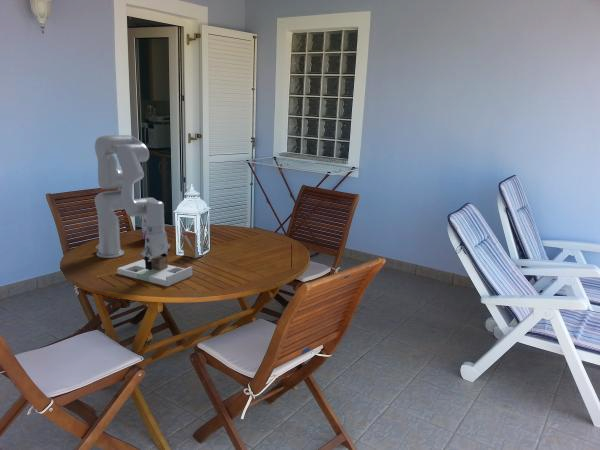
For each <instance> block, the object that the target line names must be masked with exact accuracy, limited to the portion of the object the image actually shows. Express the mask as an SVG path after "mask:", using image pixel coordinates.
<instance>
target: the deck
mask: <svg viewBox="0 0 600 450" xmlns="http://www.w3.org/2000/svg"><path fill="white" fill-rule="evenodd" d="M116 272H117V274H118V275H121V276H124V277H129V278H133V279H136V280H137V279H138V280H139V281H140V280H141V281H144V282H149V283H152V284H157V285H160V286H163V287H170V286H172V285H175V284H176V283H179V282H182V281H184V280H185V279H188V278H190V277H192V276H193V266H188V267H186V268H184V267H178V266H176V265H170V264H168V268H165V269H163V270H155V269H152V270H147V269H146V268H145V261H144V259H143V258H142V259H140V260H137V261H134V262H131V263H129V264H126V265H123V266H120V267H118V268H117V271H116Z"/></svg>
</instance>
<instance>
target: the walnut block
mask: <svg viewBox="0 0 600 450" xmlns="http://www.w3.org/2000/svg"><path fill="white" fill-rule="evenodd" d="M151 261H152V269H155V270H163V269H165V268H168V265H169V263H168V262H169V261H168V256H167V257H165V256H161V255H158V256H155V257H152V259H151Z"/></svg>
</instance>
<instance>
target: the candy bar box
mask: <svg viewBox="0 0 600 450" xmlns="http://www.w3.org/2000/svg"><path fill="white" fill-rule="evenodd" d="M140 217H141V218H140V219H141V237H142V238H141V239H142V240H144V241H145V237H146V233H147V232H146V215H143V216H140Z"/></svg>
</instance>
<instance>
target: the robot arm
mask: <svg viewBox="0 0 600 450" xmlns="http://www.w3.org/2000/svg"><path fill="white" fill-rule="evenodd" d="M94 151H95V154H96V157H97V183H98V186H99V188H101V189H103V190H110V191H102V192H99V193H98V194H96V196H94V204H95V205H94V206H95V209H96V213H97V223H98V224H97V226H98V238H99V241H98V244H97V245H96V246H95V248H96V249H98V251H97V252H96V256H97V257H98V258H103V259H114V258H118V257H121V256H123V255H124V254H125V251H124V250H123V249H121V237H120V236H121V235H120V234H121V233H120V232H121V231H120V219H119V216H118V215H117V214H116V213H115V211H119V210H125V213H126V214H127V215H128V216H129V217H133V218H135V217H141V216H143V215H146V232H147V233H146V237H145V240H144V249H143V250H142V251H141V252H140V255H141V259H142V260H143V259H144V261H145V268H146V269H147V270H152V261H151V259H152V257H155V256H158V255H161V256H165V257H167V258H168V255H169V251H170V247H171V243H168V235H167V232H166V230H165V204H164V202H163V201H161V200H157V199H156V198H155V197H141V198H135V199H133V197H134V196H133V195H134V194H133V192H134V191H133V189H134V188H133V187H134V186H133V185H134V184H136V183H137V182H139V181H141V180H142V179H143V178H144V176H145V173H144V170H143V167H142V165H141V163H144V162H147V161H148V160H149V158H150V151H149V149H148V147H147V146H146V145H145V143H144V142H142V141H141V140H139V139H138V138H137V137H135V136H133V135H127V134H125V135H122V134H121V135H120V134H119V135H117V134H116V135H115V134H113V135H101V136H98V137H97V138H96V139H95V143H94ZM115 155H116V157H115ZM118 164H119V166H120V168H118ZM117 189H118V190H117Z"/></svg>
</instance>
